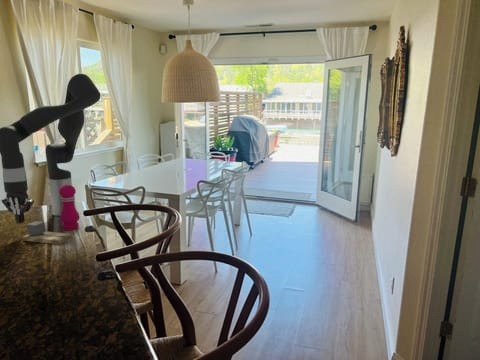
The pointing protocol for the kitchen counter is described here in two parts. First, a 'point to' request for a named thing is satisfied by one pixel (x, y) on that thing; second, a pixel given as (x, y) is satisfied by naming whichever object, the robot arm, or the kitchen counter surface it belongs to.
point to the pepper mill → (68, 208)
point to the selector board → (49, 237)
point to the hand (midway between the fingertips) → (20, 222)
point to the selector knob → (35, 228)
